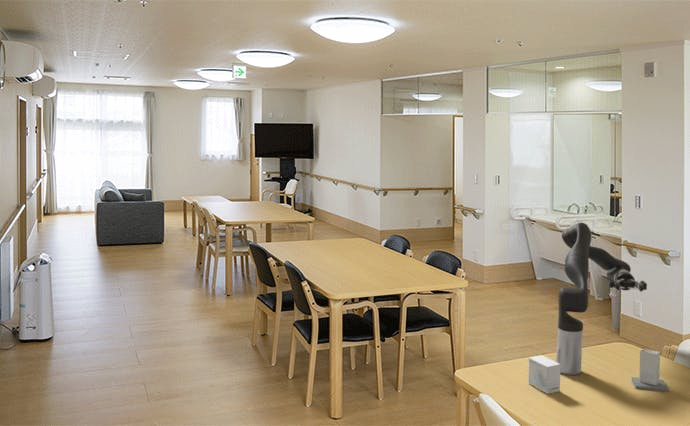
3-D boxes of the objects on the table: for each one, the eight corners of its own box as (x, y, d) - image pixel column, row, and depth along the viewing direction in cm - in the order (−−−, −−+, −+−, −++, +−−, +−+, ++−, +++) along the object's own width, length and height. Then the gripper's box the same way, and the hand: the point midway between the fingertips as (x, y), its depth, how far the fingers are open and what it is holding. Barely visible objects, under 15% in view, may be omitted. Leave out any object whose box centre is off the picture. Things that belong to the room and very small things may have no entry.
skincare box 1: (527, 384, 241) (528, 357, 239) (541, 381, 243) (542, 354, 242) (546, 394, 231) (547, 366, 230) (560, 391, 233) (561, 363, 232)
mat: (635, 388, 236) (635, 385, 236) (631, 379, 245) (631, 376, 245) (668, 391, 233) (668, 388, 233) (663, 382, 242) (663, 379, 242)
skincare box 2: (659, 382, 239) (661, 351, 237) (655, 386, 235) (657, 354, 234) (642, 378, 243) (644, 347, 241) (638, 382, 240) (639, 350, 238)
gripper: (606, 270, 280) (611, 278, 264) (642, 272, 276) (649, 280, 260) (606, 287, 281) (610, 296, 265) (641, 289, 277) (648, 298, 261)
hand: (630, 288), depth 263 cm, fingers open, 8 cm apart
